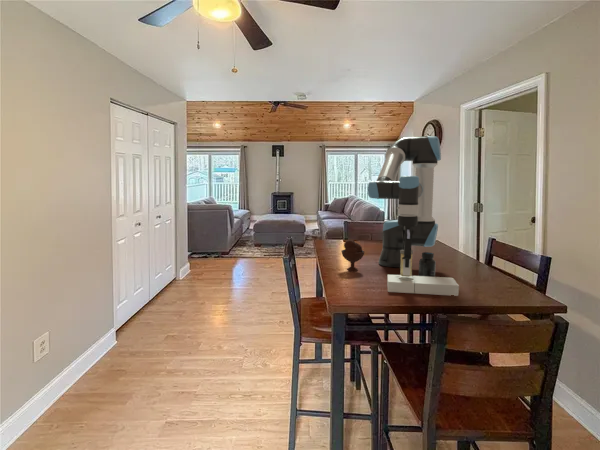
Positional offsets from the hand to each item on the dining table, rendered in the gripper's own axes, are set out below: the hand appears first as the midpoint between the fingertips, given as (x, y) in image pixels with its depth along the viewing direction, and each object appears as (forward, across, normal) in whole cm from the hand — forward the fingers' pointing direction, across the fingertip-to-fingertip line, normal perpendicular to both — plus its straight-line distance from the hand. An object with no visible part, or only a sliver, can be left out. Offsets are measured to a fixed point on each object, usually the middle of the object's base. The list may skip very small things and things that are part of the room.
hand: (405, 273), depth 151 cm
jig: (+6, 0, +6) cm, 9 cm away
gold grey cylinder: (+1, 0, 0) cm, 1 cm away
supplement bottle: (+6, -16, +10) cm, 20 cm away
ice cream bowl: (+6, -28, -23) cm, 37 cm away
